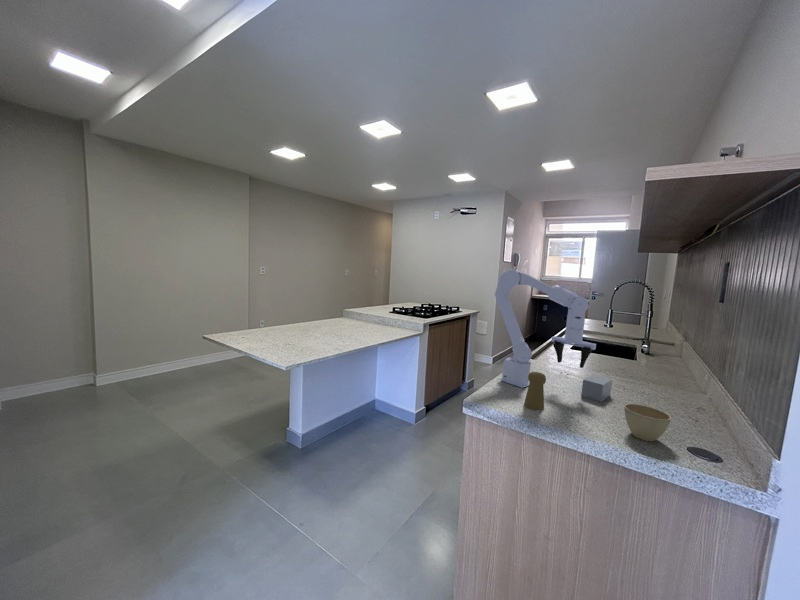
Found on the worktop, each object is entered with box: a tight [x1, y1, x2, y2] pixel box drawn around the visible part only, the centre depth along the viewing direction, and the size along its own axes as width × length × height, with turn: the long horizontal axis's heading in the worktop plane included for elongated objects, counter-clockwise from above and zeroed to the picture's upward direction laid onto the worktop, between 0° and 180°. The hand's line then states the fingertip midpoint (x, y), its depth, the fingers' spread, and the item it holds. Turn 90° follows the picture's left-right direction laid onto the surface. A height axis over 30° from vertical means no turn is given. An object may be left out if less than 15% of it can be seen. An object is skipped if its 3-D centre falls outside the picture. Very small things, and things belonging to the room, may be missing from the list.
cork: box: [523, 371, 547, 411], centre depth 102 cm, size 6×6×11 cm
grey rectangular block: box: [580, 374, 613, 403], centre depth 116 cm, size 6×11×6 cm, turn 132°
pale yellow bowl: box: [623, 403, 672, 442], centre depth 86 cm, size 10×10×7 cm
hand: (570, 364), depth 119 cm, fingers open, 7 cm apart
